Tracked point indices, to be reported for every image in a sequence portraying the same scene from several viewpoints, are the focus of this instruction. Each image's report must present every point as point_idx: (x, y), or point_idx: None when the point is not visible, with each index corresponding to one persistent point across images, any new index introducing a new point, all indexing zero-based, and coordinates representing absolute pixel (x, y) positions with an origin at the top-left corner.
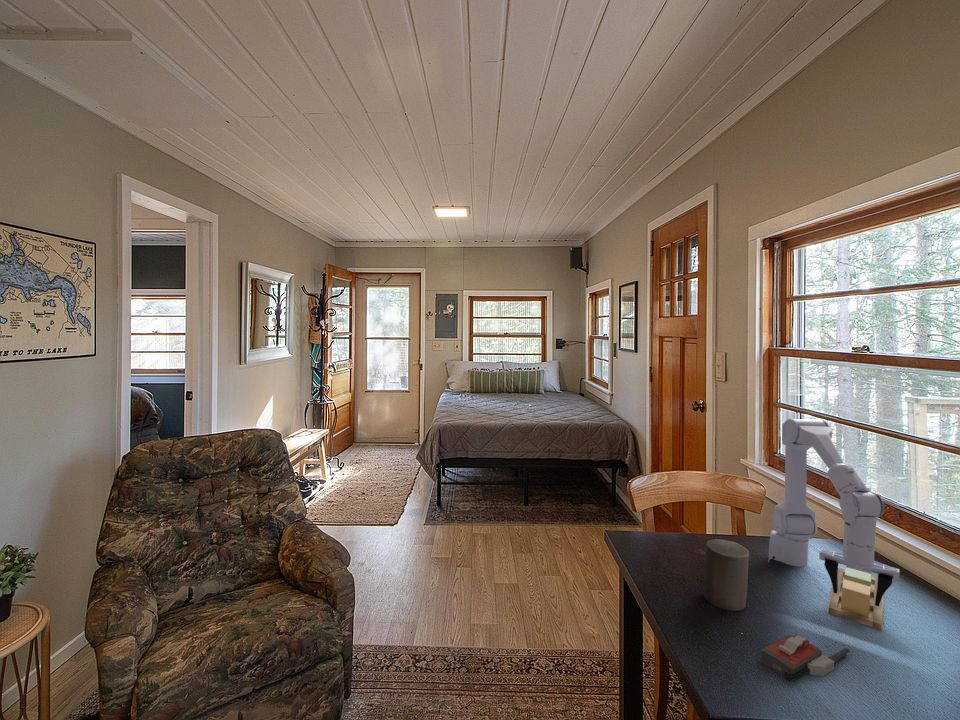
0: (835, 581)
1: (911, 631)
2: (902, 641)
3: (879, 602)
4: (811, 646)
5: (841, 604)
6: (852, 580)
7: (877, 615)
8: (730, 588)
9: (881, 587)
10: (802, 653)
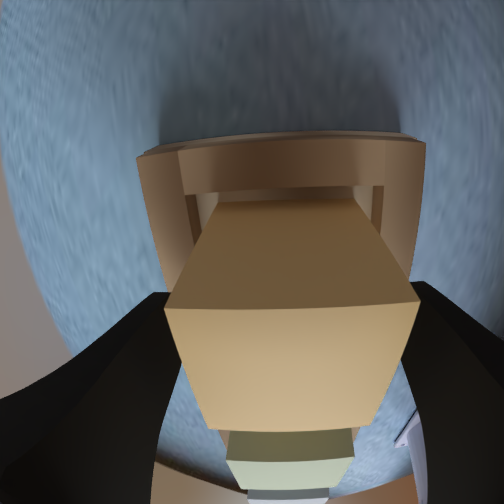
0: (469, 341)
1: (107, 286)
2: (99, 176)
3: (135, 307)
4: None
5: (366, 216)
6: (314, 440)
7: (176, 256)
8: None
9: (46, 403)
10: None
